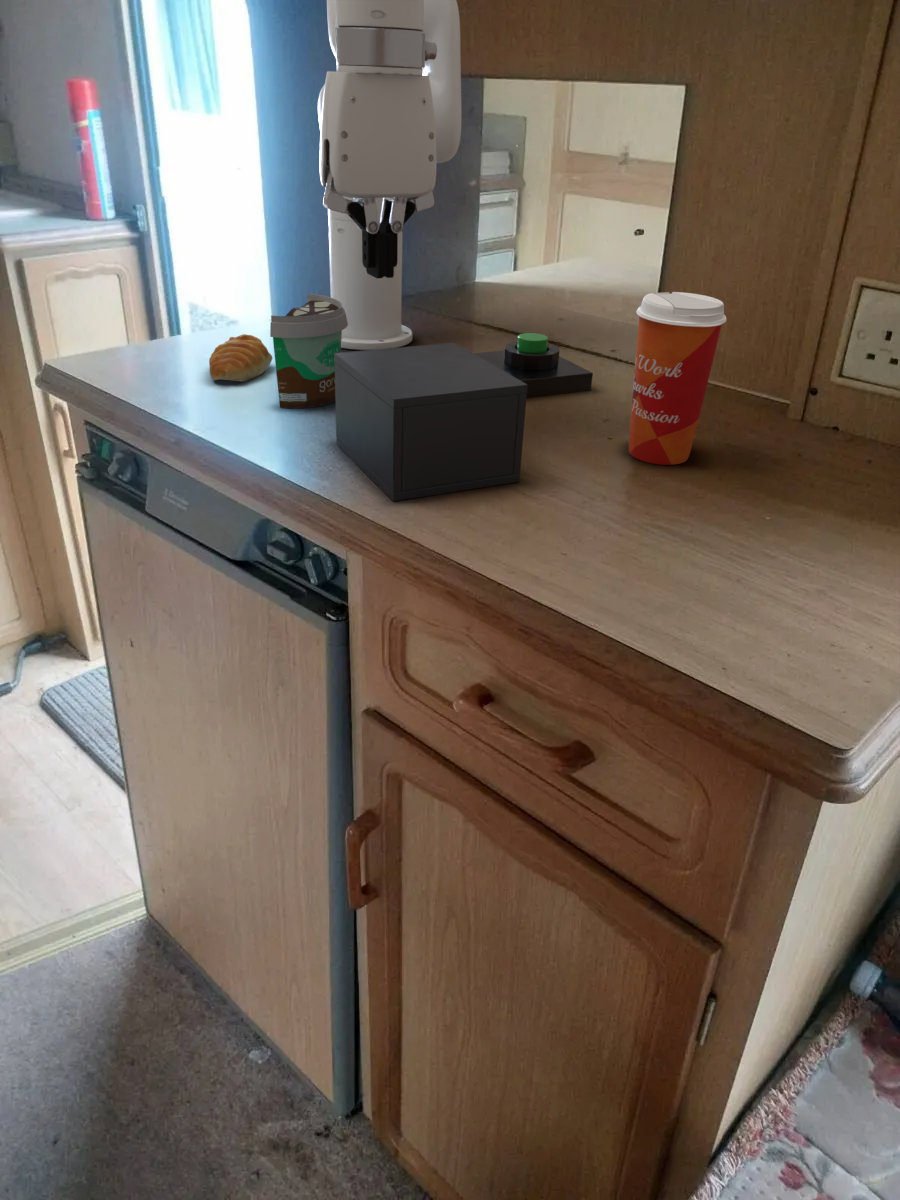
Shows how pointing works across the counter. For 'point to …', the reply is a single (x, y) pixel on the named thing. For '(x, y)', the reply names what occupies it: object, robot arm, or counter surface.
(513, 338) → the counter surface
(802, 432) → the counter surface
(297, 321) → the food container
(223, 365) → the pastry
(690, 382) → the coffee cup
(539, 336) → the button
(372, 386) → the dark grey box
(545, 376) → the block
